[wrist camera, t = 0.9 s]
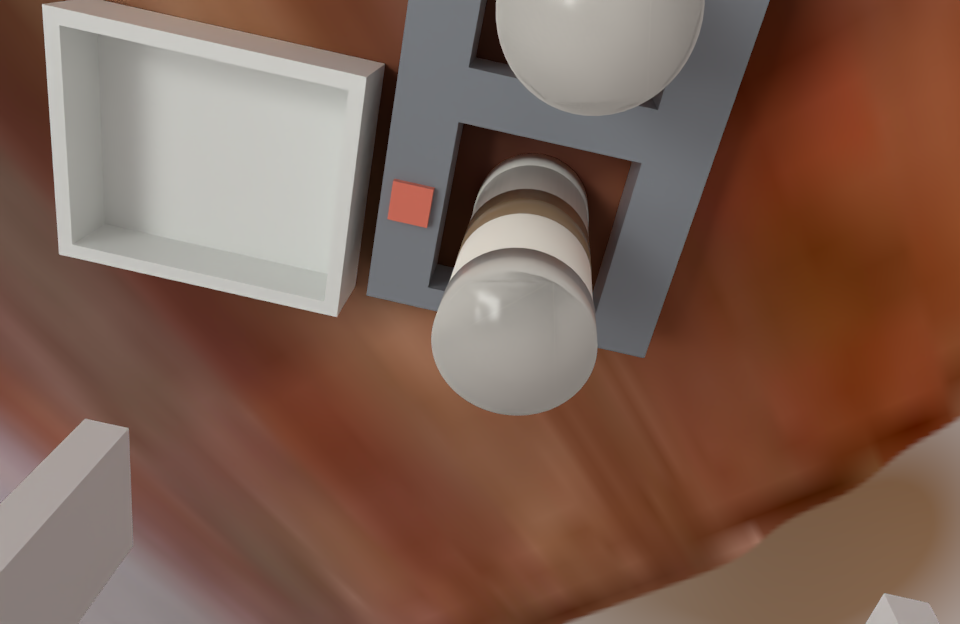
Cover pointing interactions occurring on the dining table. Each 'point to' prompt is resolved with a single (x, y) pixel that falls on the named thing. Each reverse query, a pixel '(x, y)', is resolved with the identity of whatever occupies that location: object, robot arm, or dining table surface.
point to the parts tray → (209, 152)
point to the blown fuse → (520, 292)
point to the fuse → (597, 49)
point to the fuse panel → (515, 110)
